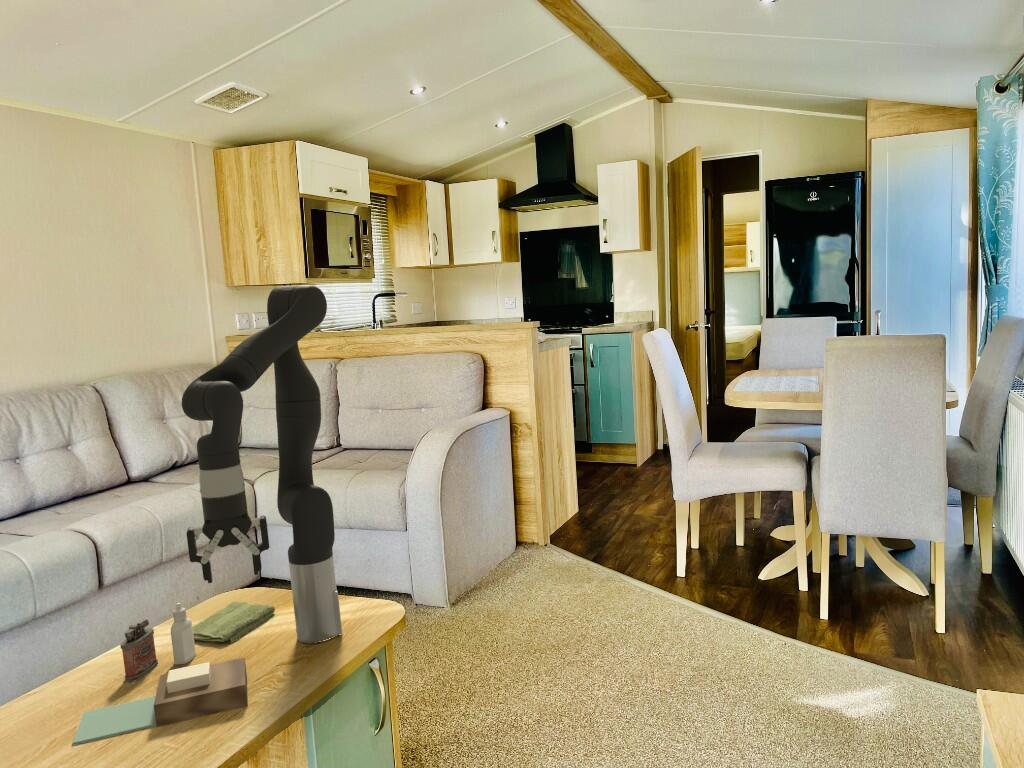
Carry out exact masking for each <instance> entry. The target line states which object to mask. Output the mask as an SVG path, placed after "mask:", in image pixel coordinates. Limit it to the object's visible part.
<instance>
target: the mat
mask: <svg viewBox="0 0 1024 768" xmlns="http://www.w3.org/2000/svg"><path fill="white" fill-rule="evenodd" d="M155 697H156V695H155V696H151V697H146V698H142V699H136V700H132V701H127V702H123V703H119V704H115V705H114V704H113V705H109V706H104V707H100V708H96V709H91V710H87V711H84V712H83V715H82V717H81V721H80V722H79V725H78V727H77V730H76V733H75V734H74V736H73V740H72V743H71V745H72V746H75V745H79V744H83V743H88V742H93V741H96V740H101V739H104V738H105V739H106V738H109V737H114V736H118V735H119V736H120V735H122V734H126V733H131V732H132V733H133V732H136V731H140V730H144V729H148V728H153V727H156V719H155V711H154V701H155Z"/></svg>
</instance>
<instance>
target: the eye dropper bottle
mask: <svg viewBox="0 0 1024 768" xmlns="http://www.w3.org/2000/svg"><path fill="white" fill-rule="evenodd" d="M186 610H187V609H186V607H182V604H181V603H180V602H177V603H176V607H175V609H173V611H172V614H173V616H172V617H173V623H172V624H171V627H170V637H171V645H172V646H171V648H172V652H173V653H172V654H173V662H174V665H177V666H178V665H185V664H188V663H189V662H191V661H192V660H193V659H194V658H195V656H196V654H197V652H196V646H195V643H196V642H195V640H194V635H193V627H192V626H193V622H192V620H191V618H189V617H187V611H186Z"/></svg>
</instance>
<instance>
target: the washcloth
mask: <svg viewBox="0 0 1024 768" xmlns="http://www.w3.org/2000/svg"><path fill="white" fill-rule="evenodd" d="M275 612H276V608H275V606H274V605H270V604H259V603H254V604H253V603H248V602H243V601H236V600H235V601H231V602H230V603H228V604H227V605H226V606H225V607H223V608H221V609H219V610H217V611H216V612H214V613H213V614H210V616H209V617H207V618H205V619H203V620H201V621H199V622H198V623H196V624H194V625H192V627H193V635H194V641H203V642H221V643H229V642H230V643H231V644H232V643H235V642H236V641H237V640H238V639H240V638H242V637H243V636H244V634H245V635H246V634H247V632H248V633H249V632H251V631H252V630H254V629H255V628H256V626H257V627H258V626H259V625H261V624H263V623H264V622H265V621H266V620H268V619H269V618H271V617H273V615H274V613H275ZM270 616H271V617H270ZM254 627H255V628H254Z"/></svg>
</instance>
